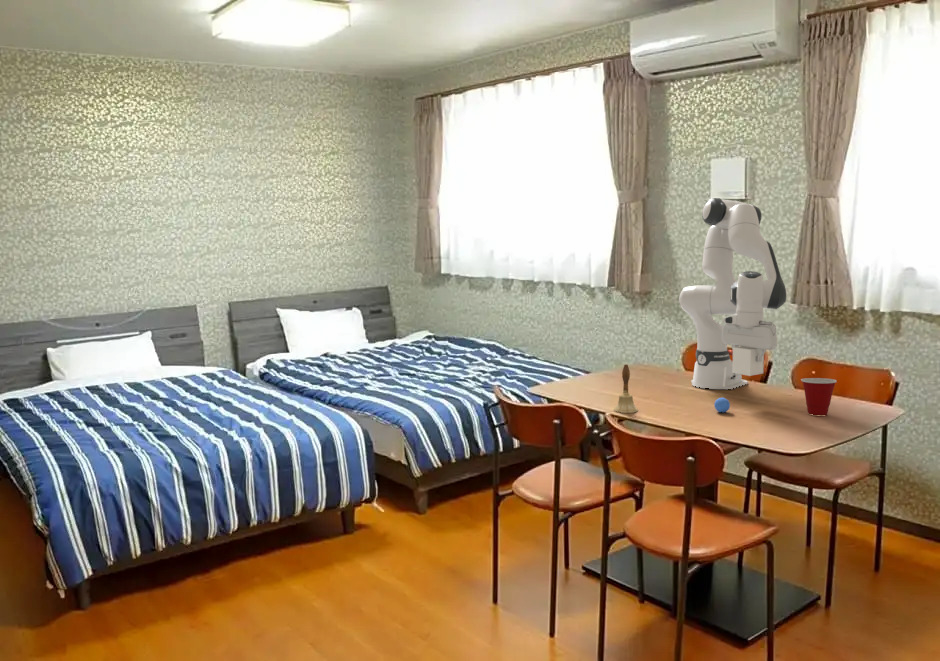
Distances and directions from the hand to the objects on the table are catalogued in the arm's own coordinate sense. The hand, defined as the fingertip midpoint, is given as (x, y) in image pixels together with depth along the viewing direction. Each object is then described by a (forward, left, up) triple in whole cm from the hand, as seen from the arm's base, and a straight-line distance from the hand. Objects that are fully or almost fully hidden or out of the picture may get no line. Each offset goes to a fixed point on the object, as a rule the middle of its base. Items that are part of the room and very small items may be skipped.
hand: (748, 359), depth 281 cm
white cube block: (0, 0, -5) cm, 5 cm away
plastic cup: (-9, +21, -17) cm, 28 cm away
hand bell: (+36, -22, -17) cm, 45 cm away
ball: (+13, 0, -14) cm, 19 cm away
